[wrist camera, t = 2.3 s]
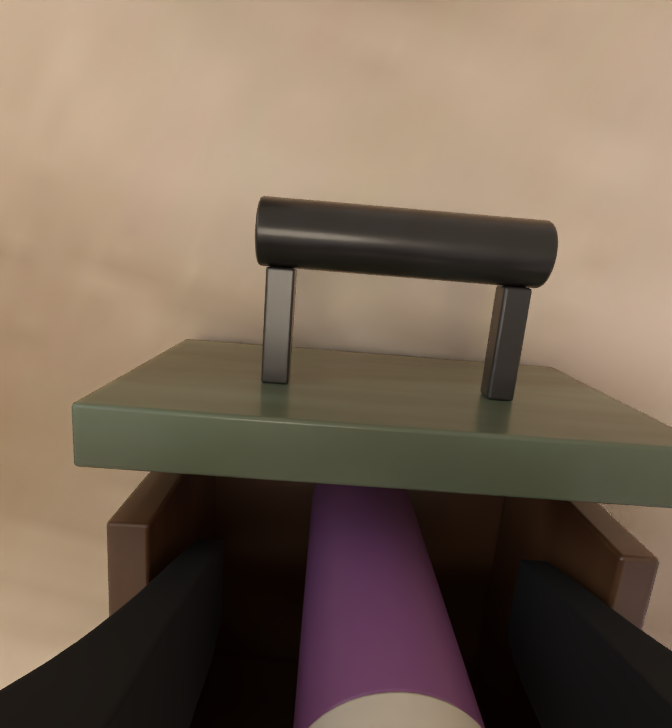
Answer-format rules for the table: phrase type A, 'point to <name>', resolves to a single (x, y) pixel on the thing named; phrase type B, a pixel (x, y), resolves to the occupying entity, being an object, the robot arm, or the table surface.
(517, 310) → the drawer
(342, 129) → the table surface
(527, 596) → the robot arm
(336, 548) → the glue stick
